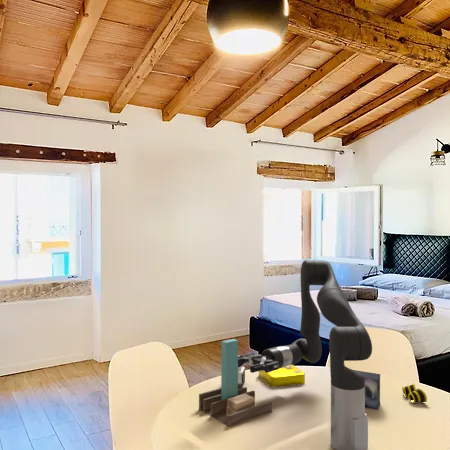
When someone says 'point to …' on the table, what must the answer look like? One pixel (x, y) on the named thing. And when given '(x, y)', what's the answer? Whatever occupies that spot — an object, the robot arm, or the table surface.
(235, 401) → the upper oak offcut
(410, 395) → the opera glasses
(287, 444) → the table surface
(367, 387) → the small box
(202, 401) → the wooden rack
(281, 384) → the element tile
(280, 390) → the table surface
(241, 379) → the medicine bottle
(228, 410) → the lower oak offcut
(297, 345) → the robot arm
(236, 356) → the teal board
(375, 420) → the table surface
